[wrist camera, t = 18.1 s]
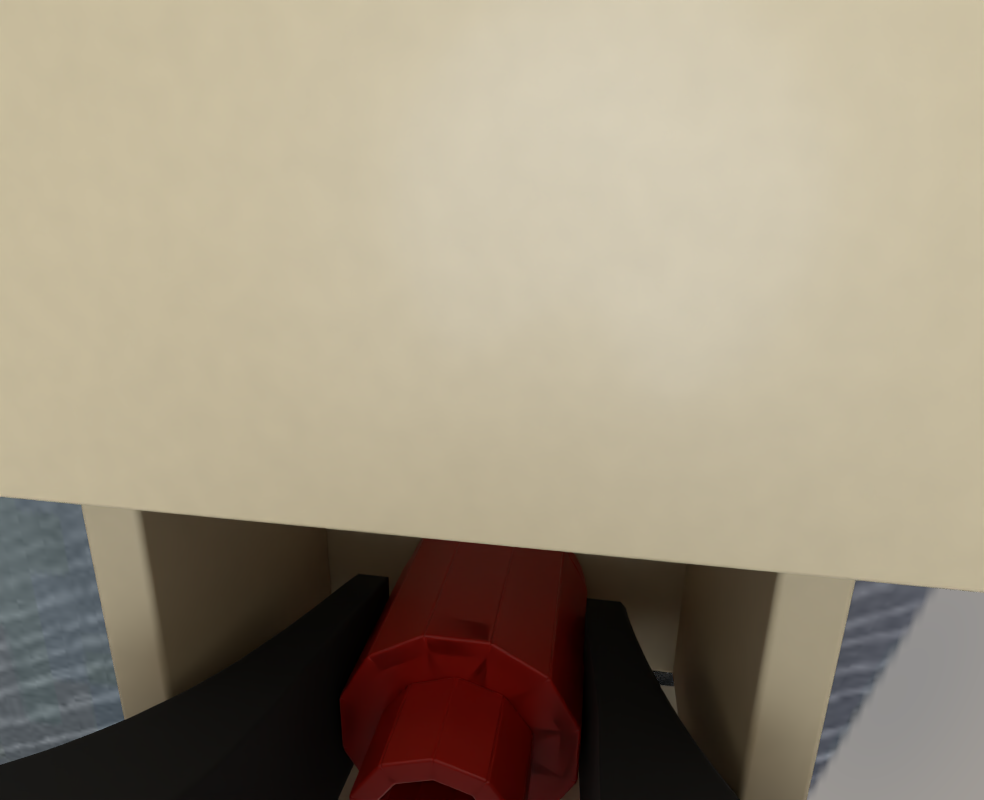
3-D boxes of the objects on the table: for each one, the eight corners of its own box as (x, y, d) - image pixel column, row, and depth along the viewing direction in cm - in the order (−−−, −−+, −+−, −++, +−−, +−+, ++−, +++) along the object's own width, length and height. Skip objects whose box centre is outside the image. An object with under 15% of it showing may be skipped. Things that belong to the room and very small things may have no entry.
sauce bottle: (592, 515, 13) (584, 739, 8) (581, 671, 14) (567, 952, 9) (407, 499, 14) (288, 699, 9) (411, 650, 15) (309, 905, 10)
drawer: (692, 876, 17) (740, 1269, 11) (318, 817, 19) (178, 1135, 13) (802, 174, 12) (1021, 181, 6) (259, 163, 13) (-44, 161, 7)
